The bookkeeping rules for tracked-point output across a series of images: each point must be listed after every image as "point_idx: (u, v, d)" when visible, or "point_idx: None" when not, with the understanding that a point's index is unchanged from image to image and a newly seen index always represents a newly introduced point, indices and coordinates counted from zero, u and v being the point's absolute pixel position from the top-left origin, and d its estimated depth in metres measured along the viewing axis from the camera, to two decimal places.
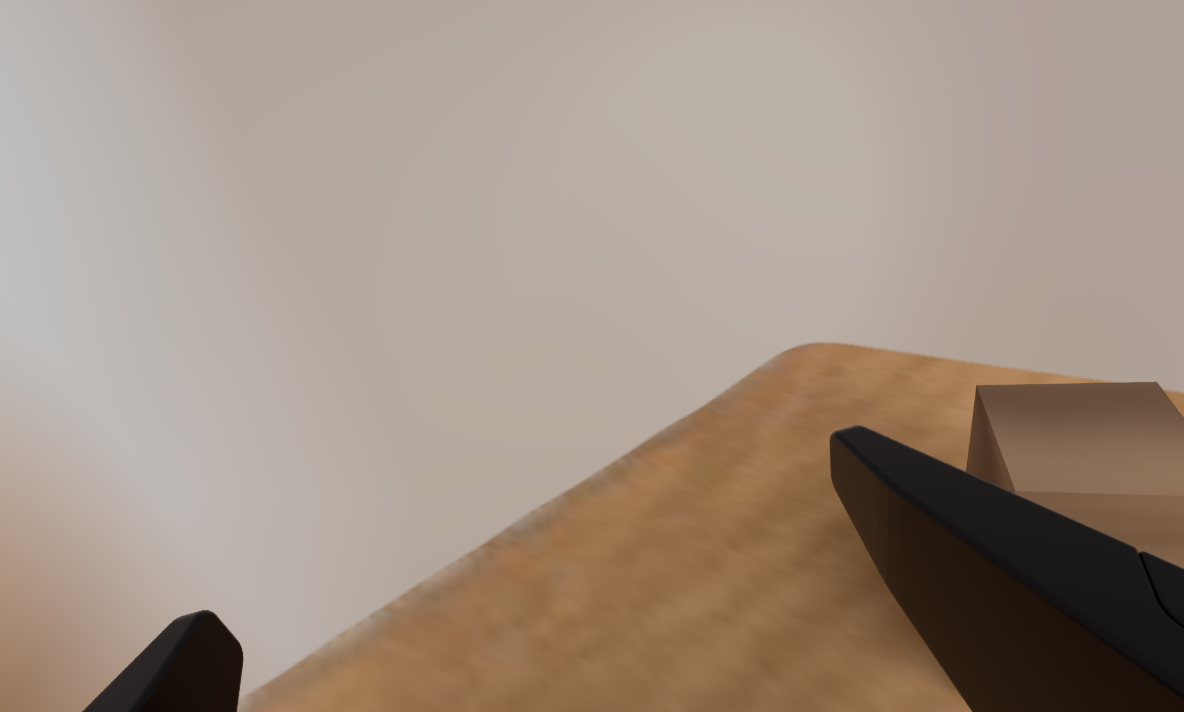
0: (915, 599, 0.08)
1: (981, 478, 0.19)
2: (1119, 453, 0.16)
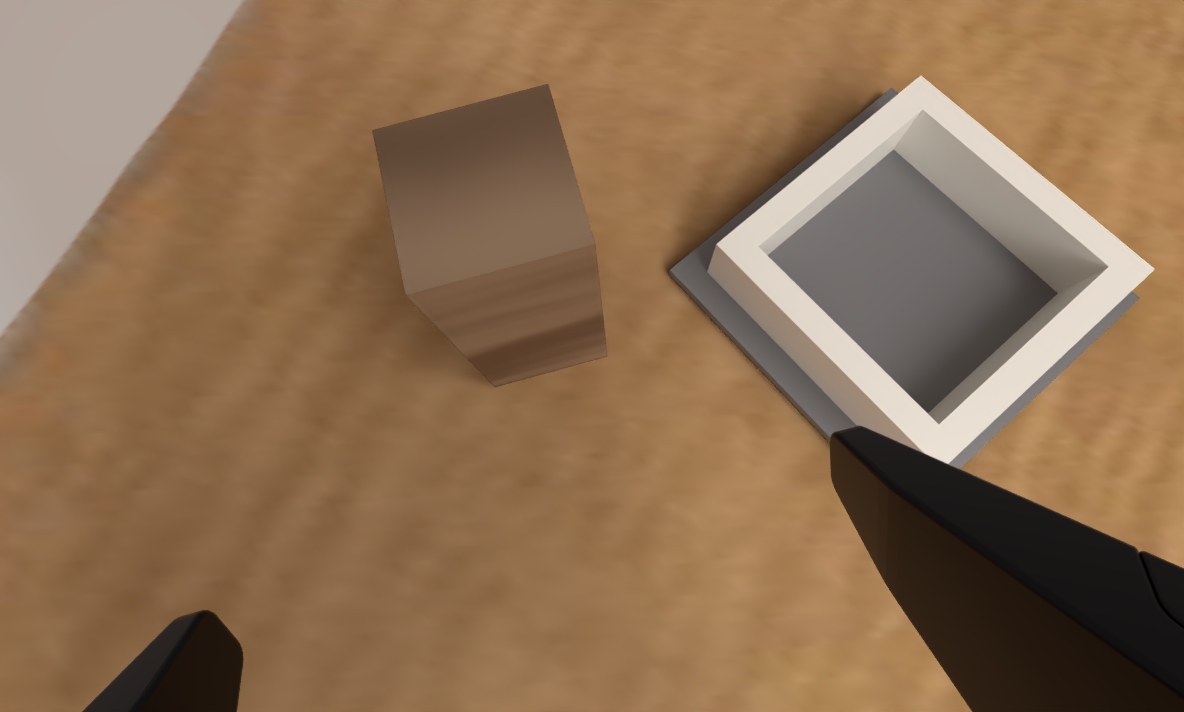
0: (915, 599, 0.08)
1: None
2: (502, 209, 0.14)
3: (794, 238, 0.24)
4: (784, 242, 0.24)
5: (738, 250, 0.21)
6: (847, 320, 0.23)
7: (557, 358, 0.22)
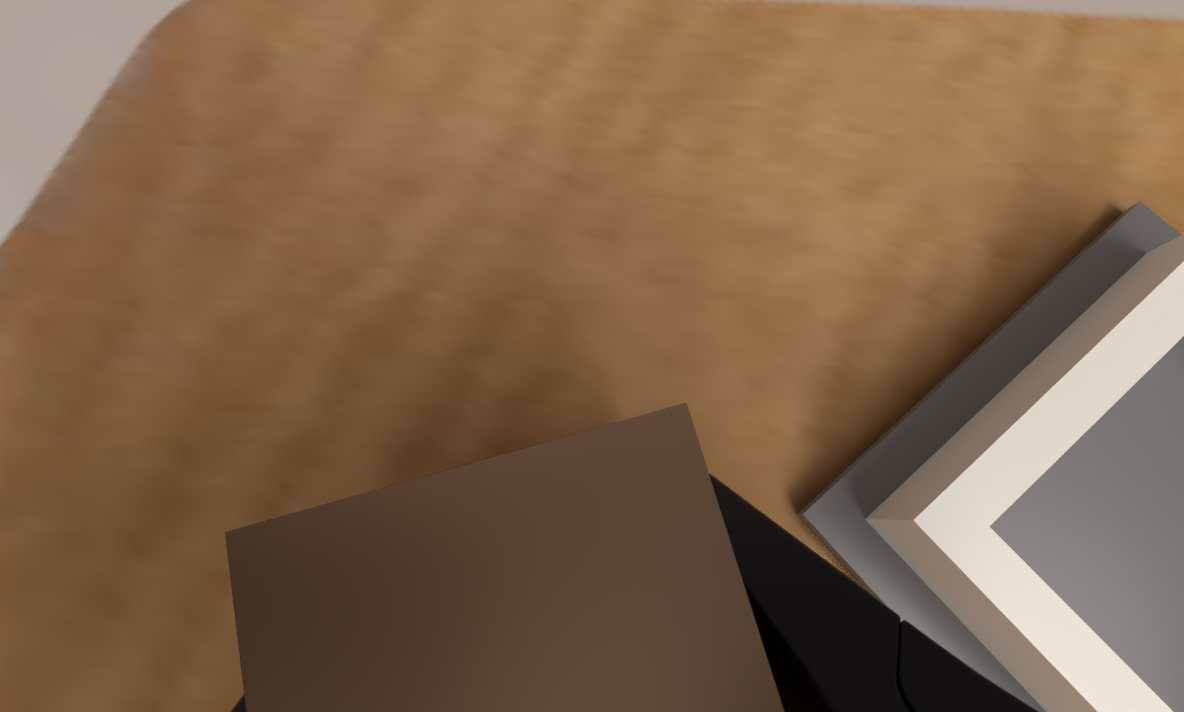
0: None
1: None
2: None
3: None
4: None
5: (954, 533, 0.12)
6: (1108, 612, 0.14)
7: None
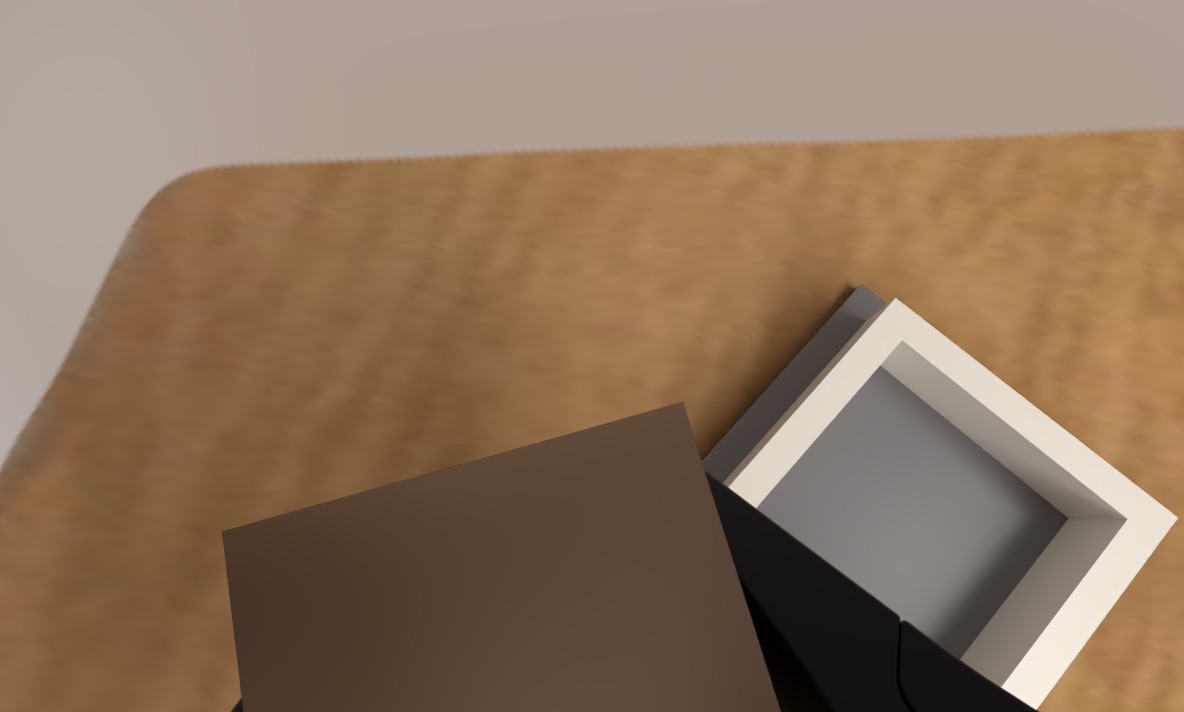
0: None
1: None
2: None
3: None
4: None
5: None
6: (843, 573, 0.21)
7: None
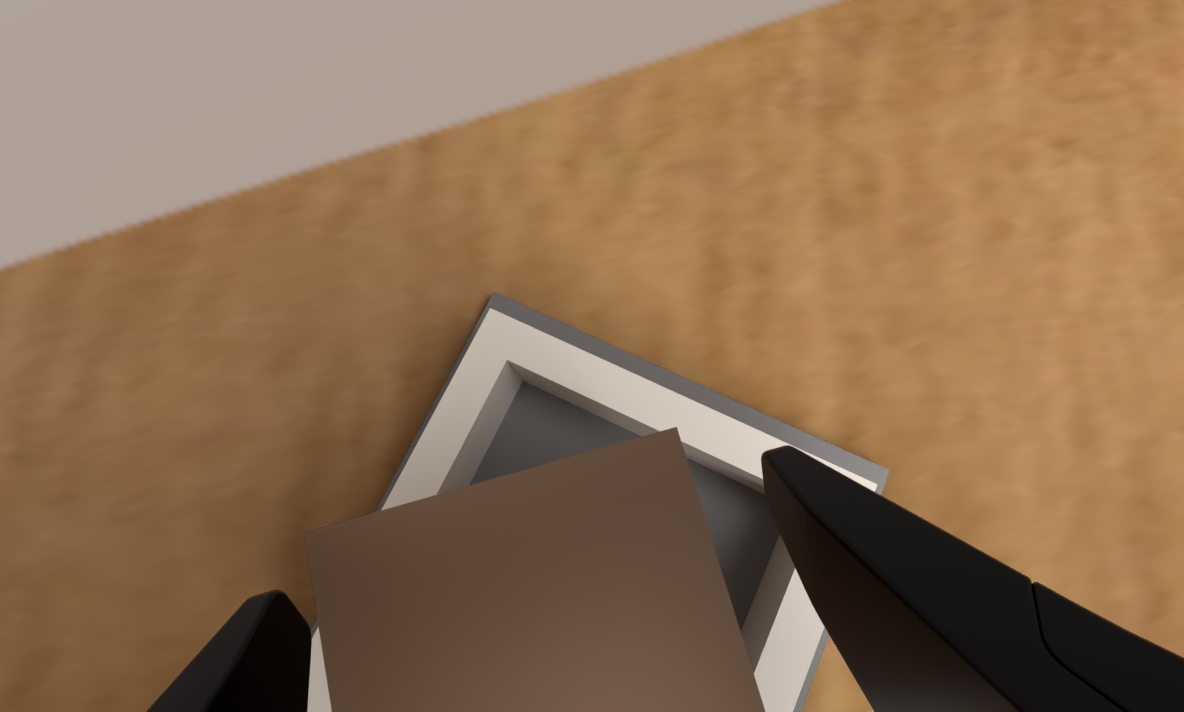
0: (835, 622, 0.08)
1: None
2: None
3: None
4: None
5: (311, 700, 0.14)
6: None
7: None
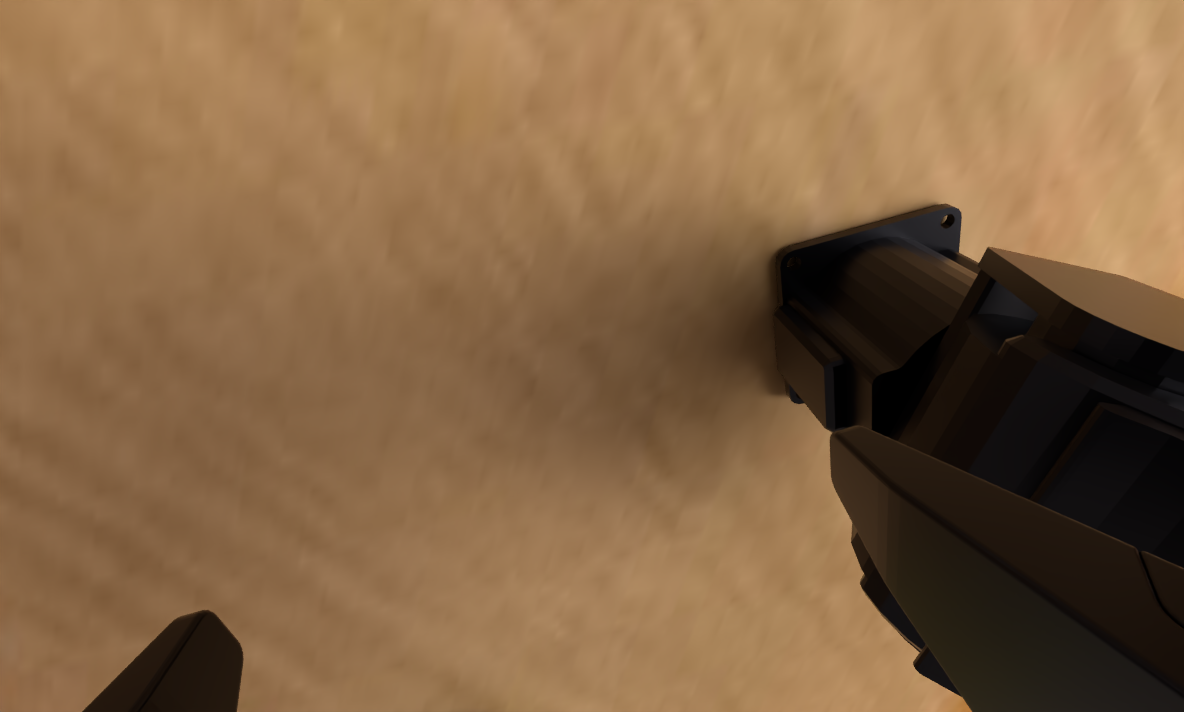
0: (915, 599, 0.08)
1: None
2: None
3: None
4: None
5: None
6: None
7: None
